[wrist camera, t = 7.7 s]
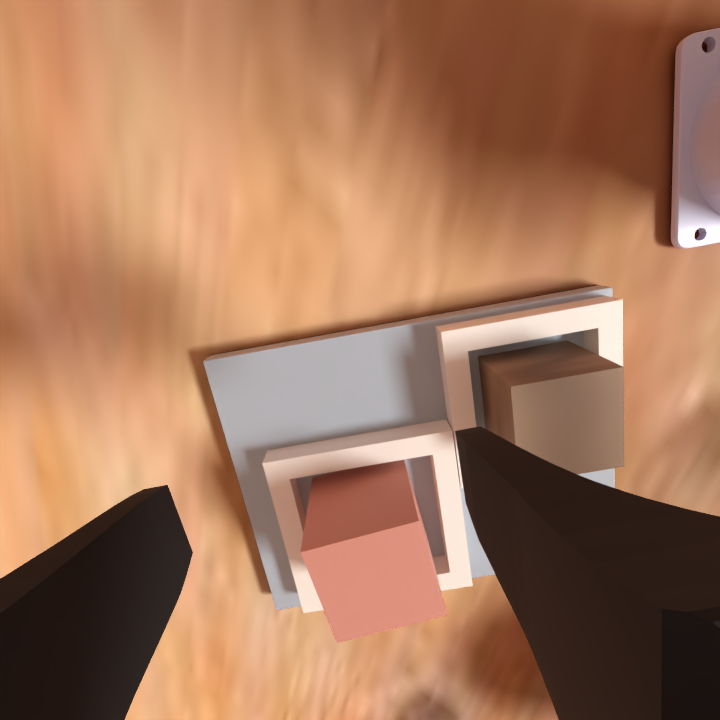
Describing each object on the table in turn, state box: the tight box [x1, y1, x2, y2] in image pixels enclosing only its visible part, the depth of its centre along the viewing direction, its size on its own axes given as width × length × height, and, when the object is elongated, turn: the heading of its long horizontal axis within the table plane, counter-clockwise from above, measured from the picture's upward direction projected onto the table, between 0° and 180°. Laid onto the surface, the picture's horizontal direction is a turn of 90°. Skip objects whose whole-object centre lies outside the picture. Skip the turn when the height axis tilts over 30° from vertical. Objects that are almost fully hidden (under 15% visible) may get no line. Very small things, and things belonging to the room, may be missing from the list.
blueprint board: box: [203, 285, 623, 613], centre depth 20 cm, size 18×14×2 cm
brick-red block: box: [300, 460, 447, 643], centre depth 18 cm, size 4×4×5 cm
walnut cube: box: [478, 341, 624, 474], centre depth 17 cm, size 4×4×4 cm
